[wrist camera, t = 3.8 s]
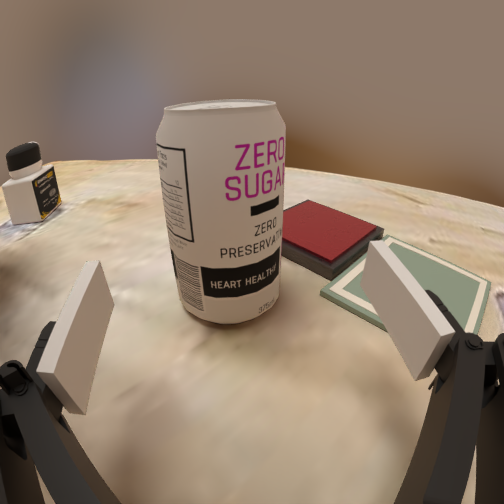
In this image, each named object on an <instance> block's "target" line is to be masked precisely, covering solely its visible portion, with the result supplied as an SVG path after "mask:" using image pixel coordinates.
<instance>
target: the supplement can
mask: <svg viewBox="0 0 504 504" xmlns="http://www.w3.org/2000/svg"><path fill="white" fill-rule="evenodd" d="M285 133H286V126H285V123H284V121H283V119H282V118H281V116H280V114H279V112H278V110H277V108H276V102H272V101H265V100H246V99H243V100H242V99H238V100H237V99H235V100H211V101H200V102H191V103H184V104H178V105H173V106H169V107H166V108H164V116H163V119H162V121H161V124H160V126H159V128H158V131H157V133H156V142H157V153H158V162H159V171H160V179H161V187H162V195H163V202H164V210H165V216H166V223H167V230H168V236H169V242H170V248H171V254H172V260H173V266H174V272H175V277H176V282H177V288H178V293H179V298H180V301H181V302H182V304H183V305H184V307H185V308H186V310H187V311H189V312H190V313H192V314H194V315H195V316H197V317H199V318H200V319H204V320H206V321H210V322H214V323H219V324H238V323H241V322H245V321H248V320H251V319H254V318H255V317H258V316H259V315H261V314H262V313H264V312H265V311H267V310H268V309H270V308H271V307H272V306H273V304H274V303H275V301H276V300H277V298H278V297H279V287H280V269H281V249H282V227H283V202H284V172H285Z"/></svg>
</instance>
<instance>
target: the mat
mask: <svg viewBox="0 0 504 504" xmlns="http://www.w3.org/2000/svg"><path fill="white" fill-rule="evenodd" d="M381 240H383V241H384V243H385V244H386V245H387V246H388V247H389V248H390V249H391V251H392V252H393V253H394V254H395V255H396V256H397V258H398V259H399V260H400V261H401V262H402V264H403V265H404V266H405V267H406V268H407V270H408V271H409V272H410V273H411V274H412V276H413V277H414V278H415V279H416V281H417V282H418V283H419V284H420V286H421V287H422V288H423V289H424V290H430V291H432V292H433V293H434V294H436V295H437V296H438V297H439V298H440V299H441V301H442V302H443V303H444V305H445V306H446V307H447V308H448V311H450V312H451V314H452V315H453V316H454V318H455V319H456V320H457V322H458V323H459V324H460V326H461V327H462V328H463V330H464V331H465V332H466V333H467V332H470V333H474V334H476V335H477V334H478V331H479V328H480V324H481V321H482V317H483V314H484V310H485V306H486V302H487V298H488V294H489V290H490V286H491V282H490V281H488V280H486V279H484V278H482V277H480V276H478V275H476V274H474V273H472V272H469V271H467V270H465V269H463V268H461V267H459V266H457V265H455V264H453V263H450V262H448V261H446V260H444V259H442V258H440V257H437V256H435V255H433V254H431V253H428V252H426V251H424V250H422V249H419V248H417V247H415V246H413V245H410V244H408V243H406V242H403V241H401V240H399V239H396V238H394V237H392V236H389V235H386V236H385V237H384V238H383V239H381ZM366 256H367V252H366V253H365V254H364V255H363V256H362V257H360V258H359V259H358V260H357V261H356V262H355V263H353V264H352V265H351V266H350V267H349V268H347V269H346V270H345V271H344V272H342V273H341V274H340V275H339V276H338V277H336V278H335V279H334V280H333V281H331V282H330V283H329V284H328V285H326V286H325V287H324V288H323V289H321V291H320V295H321V296H323V297H325V298H327V299H328V300H330V301H332V302H334V303H336V304H337V305H339V306H341V307H343V308H345V309H346V310H348V311H350V312H352V313H354V314H356V315H357V316H359V317H361V318H363V319H365V320H366V321H368V322H370V323H372V324H374V325H376V326H377V327H379V328H381V329H383V330H385V331H387V330H386V328H385V326H384V324H383V323H382V321H381V319H380V318H379V316H378V314H377V312H376V311H375V309H374V307H373V306H372V304H371V302H370V301H369V299H368V297H367V296H366V294H365V292H364V291H363V289H362V287H361V286H360V283H361V278H362V274H363V270H364V265H365V261H366ZM387 332H388V331H387Z"/></svg>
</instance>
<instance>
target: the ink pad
mask: <svg viewBox="0 0 504 504" xmlns="http://www.w3.org/2000/svg"><path fill="white" fill-rule="evenodd" d="M383 232H384V229H383V228H381V227H378V226H376V225H374V224H371V223H368V222H366V221H363V220H361V219H358V218H356V217H353V216H351V215H348V214H345V213H343V212H340V211H337V210H335V209H332V208H329V207H327V206H324V205H321V204H319V203H316V202H313V201H310V200H306V201H304V202H302V203H299V204H297V205H295V206H292V207H290V208H288V209H286V210H283V227H282V249H281V255H282V256H284V257H286V258H288V259H290V260H292V261H294V262H296V263H298V264H300V265H302V266H304V267H305V268H307V269H309V270H311V271H313V272H315V273H317V274H319V275H321V276H323V277H325V278H327V279H329V280H333V279H334V278H335V277H336V276H338V275H339V274H340V273H341V272H343V271H344V270H345V269H346V268H347V267H349V266H350V265H351V264H352V263H353V262H355V261H356V260H357V259H358V258H359V257H361V256H362V255H363V254H364V253H365V252H367V251H368V247H369V242H370V241H379V240H381V239H382V237H383Z"/></svg>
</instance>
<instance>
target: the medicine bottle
mask: <svg viewBox="0 0 504 504" xmlns="http://www.w3.org/2000/svg"><path fill="white" fill-rule="evenodd" d="M6 159H7V165H8V169H9V174H10V176H12V179H10V180H9V181H7V182H6V183H4V184H3V185H2V189H3V193H4V197H5V200H6V204H7V207H8V211H9V214H10V217H11V220H12V223H13V225H17V224H25V223H33V222H41V221H43V220H44V219H45V218H46V217H47V216H48V215H50V214H51V213H52V212H53V211H54V210H55V209H56V208H57V207H58V206H59V205H60V204H61V198H60V194H59V190H58V185H57V181H56V176H55V171H54V166H53V165H46V166H42V167H41V164H42V159H41V154H40V148H39V144H38V143H37V142H29V143H25V144H22V145H20V146H18V147H15V148H13V149H12V150H10V151H9V152H8V153H7V154H6Z"/></svg>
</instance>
